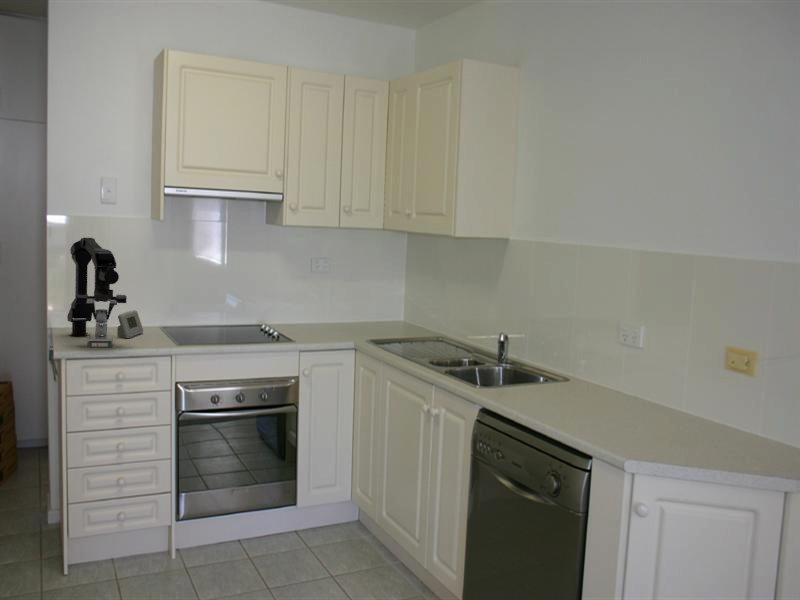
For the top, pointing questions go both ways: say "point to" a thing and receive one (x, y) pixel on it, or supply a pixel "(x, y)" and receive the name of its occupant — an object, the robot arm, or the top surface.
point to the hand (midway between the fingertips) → (101, 319)
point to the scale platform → (100, 338)
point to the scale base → (100, 343)
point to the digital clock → (129, 324)
